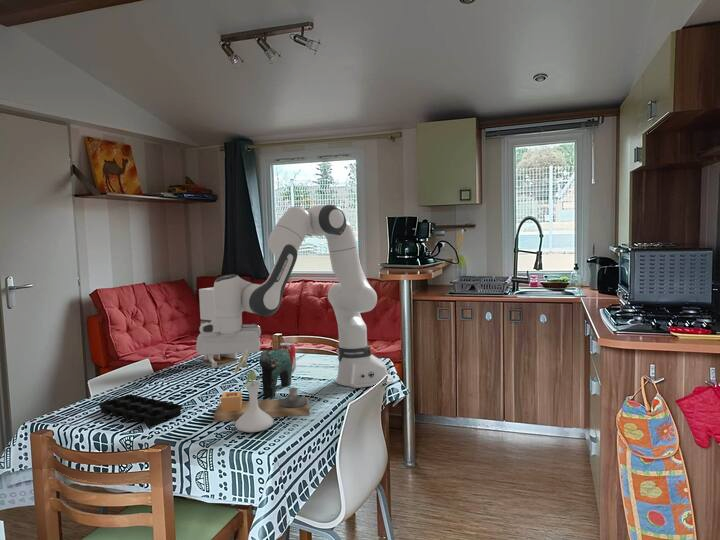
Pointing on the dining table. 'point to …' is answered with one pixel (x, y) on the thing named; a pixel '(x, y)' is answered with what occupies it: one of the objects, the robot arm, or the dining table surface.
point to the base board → (269, 407)
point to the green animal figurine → (275, 369)
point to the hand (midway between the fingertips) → (229, 366)
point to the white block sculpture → (208, 315)
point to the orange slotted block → (231, 401)
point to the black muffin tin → (141, 409)
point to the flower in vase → (252, 405)
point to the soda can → (290, 352)
